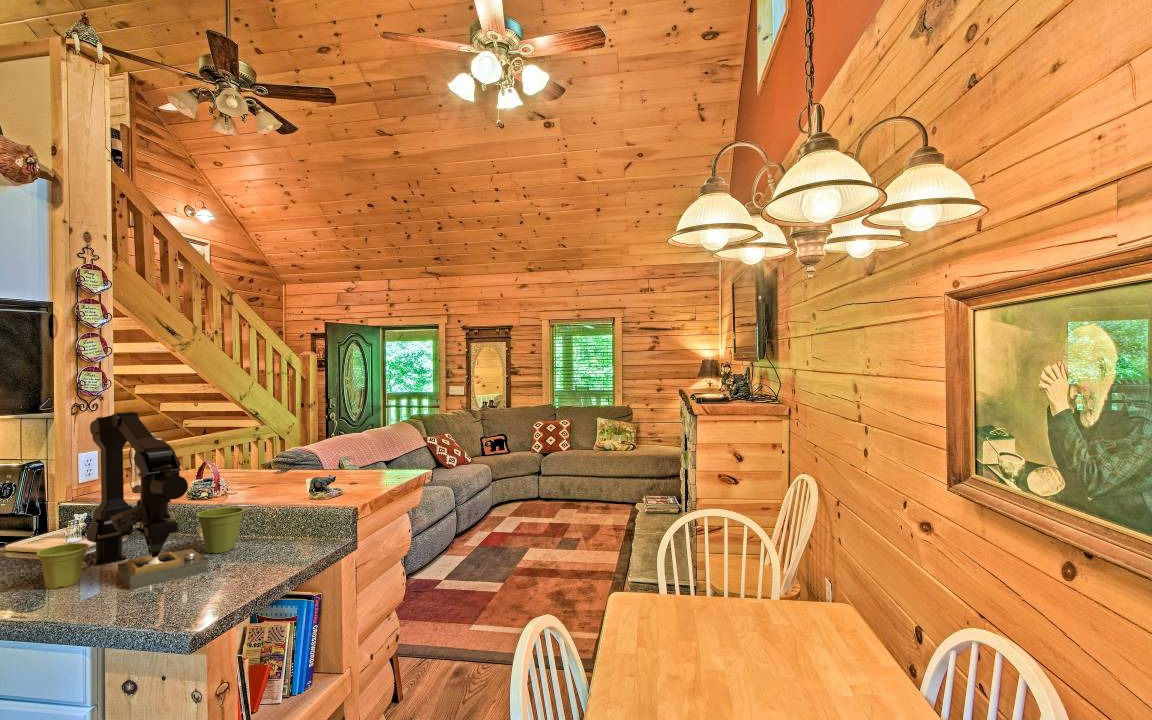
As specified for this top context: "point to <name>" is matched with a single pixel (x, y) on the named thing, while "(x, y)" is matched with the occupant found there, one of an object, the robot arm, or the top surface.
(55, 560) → the plant pot
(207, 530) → the plant pot
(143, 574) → the grey hollow block
